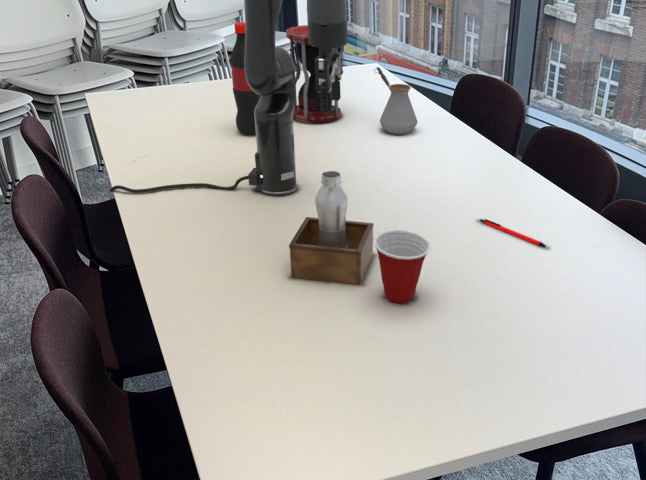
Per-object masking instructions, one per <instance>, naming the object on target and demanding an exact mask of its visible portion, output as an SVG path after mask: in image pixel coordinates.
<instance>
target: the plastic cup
mask: <svg viewBox="0 0 646 480" xmlns="http://www.w3.org/2000/svg"><path fill="white" fill-rule="evenodd" d="M374 247H375V248H376V252H377V256H378V258H377V259H378V261H379V267H380V276H381V282H382V287H383V293H384V296H385V299H386V300H387V301H389V302H391V303H395V304H406V303H409V302H411V301H412V300H413V299H414V297H415V294H416V290H417V286H418V283H419V279H420V275H421V272H422V268H423V264H424V261H425V258H426V257H427V255H428V253H429V252H430V250H431V242H429V240H427V238H426V237H424V236H423V235H421V234H420V233H417V232H413V231H409V230H401V229H400V230H399V229H393V230H386V231H383V232H381V233H379V234H377V236H376V237H375V238H374Z"/></svg>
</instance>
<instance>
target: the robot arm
mask: <svg viewBox="0 0 646 480" xmlns="http://www.w3.org/2000/svg"><path fill="white" fill-rule="evenodd" d="M282 5H283V0H243V6H244V8H243V9H244V23H245V57H244V70H245V77H246V80H247V83H248V85H249V86H250V88H251V89H252V90H253V91H254V92H255V93H256V94H258V95H261V97H260V100H259V102H258V104H257V105H256V107H255V110H254V118H255V130H256V135H255V141H256V152H255V153H254V163H255V167H253V168H252V170H251V171H249V173H248V174H247V175H245V176H244V175H243V176H241V177H239V178H238V179H237V180H235V183H234V184H233V185H230V186H221V185H216V184H211V183H205V182H204V183H203V182H200V183H198V182H197V183H194V182H193V183H178V184H168V185H161V186H160V185H159V186H155V187H149V188H140V189H139V188H138V189H137V188H135V189H134V188H130V187H127V186H123V185H114V186H112V187H111V188H110V189H109V193H113V192H114V191H116V190H122V191H125V192H129V193H132V194H142V193H151V192H156V191H162V190H169V189H170V190H171V189H180V188H181V189H182V188H201V187H202V188H210V189H215V190H222V191H232V190H235V189H236V188H238V187H239V184H240V183H241V182H243V181H246V180H248V186H256V188H257V192H261V193H264V194H266V195H270V196H284V195H289V194H292V193H294V192H295V191H296V190H297V189H298V185H297V174H296V173H297V172H296V170H297V169H296V152H295V130H294V119H293V111H294V108H295V101H297V89H296V90H295V78H296V69H295V67H294V63H293V60H292V58H291V54H290V53H289V52H288V51H287V50H286V49H285V48H283V47H281V46H277V45H276V28H277V23H278V19H279V15H280V12H281V8H282ZM347 5H348V4H347V0H306V17H307V19H306V20H307V25H308V39H309V44H310V45H311V46H313V47H317V48H319V56H318V57H317V58H315V60H314V63H315V83H316V87H315V89H316V92H319V93H320V111H321V112H322V113H330V112H331V111H332V105H333V101H334V100H335V101H338V102H339V101H340V100H341V98H342V97H341V96H342V95H341V81H342V75H343V74H344V69H343V47H345V46H346V45H347V44H348V42H349V41H348V10H347V9H348V6H347ZM322 82H325V83H326V85H322ZM335 101H334V102H335Z"/></svg>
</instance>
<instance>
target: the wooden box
mask: <svg viewBox="0 0 646 480" xmlns="http://www.w3.org/2000/svg"><path fill="white" fill-rule="evenodd" d="M374 226H375V225H374V223H373V222H366V221H365V222H364V221H355V220H346V224H345V232H346V242H347V246H348V248H338V247H327V246H318V245H319V221H318V217H312V216H305V218H304V220H303V221H302V223H301V225H300V226H299V228H298V230H297V231H296V233H295V234H294V236H293V238H292V239H291V241H290V243H289V244H288V249H289V257H290V258H289V259H290V273H291V278H292V279H293V278H294V279H295V278H296V279H303V280H313V281H324V282H332V283H343V284H353V285H361V284H362V282H363V280H364V277H365V275H366V272H367V270H368V268H369V265H370V263H371V261H372V258H373V255H374Z"/></svg>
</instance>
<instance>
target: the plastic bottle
mask: <svg viewBox="0 0 646 480" xmlns="http://www.w3.org/2000/svg"><path fill="white" fill-rule="evenodd" d="M341 177H342V176H341V173H340V172H339V171H336V170H327V171H324V172H322V173H321V181H320V183H321V185H322V186H321V187H320V188H319V190H318V191H317V193H316V195H315V198H314V202H315V208H316V209H315V210H316V214H317V218H318V221H319V245H318V246H327V247H338V248H348V246H347V242H346V232H345V224H346V221H347V210H348V204H349V203H348V202H349V199H348V197H347V194H346V192H345V191H344V189H343V188H342V187H341V184H342V180H341Z"/></svg>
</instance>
